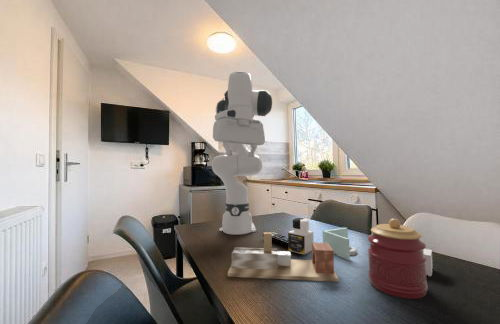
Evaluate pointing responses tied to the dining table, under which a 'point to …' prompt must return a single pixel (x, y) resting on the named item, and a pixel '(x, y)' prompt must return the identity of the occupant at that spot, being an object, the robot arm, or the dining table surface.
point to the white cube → (428, 261)
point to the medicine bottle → (300, 237)
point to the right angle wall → (339, 242)
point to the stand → (299, 269)
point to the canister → (397, 260)
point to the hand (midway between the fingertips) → (240, 156)
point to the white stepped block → (283, 256)
